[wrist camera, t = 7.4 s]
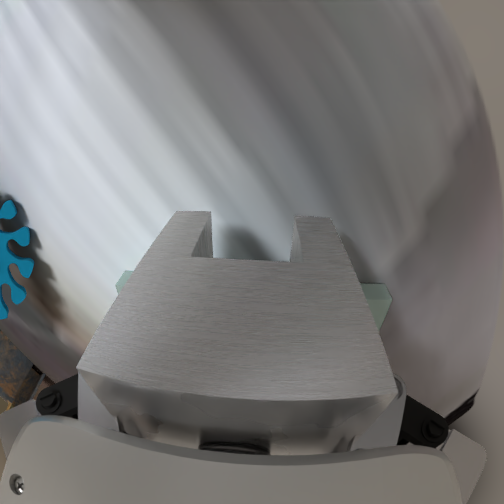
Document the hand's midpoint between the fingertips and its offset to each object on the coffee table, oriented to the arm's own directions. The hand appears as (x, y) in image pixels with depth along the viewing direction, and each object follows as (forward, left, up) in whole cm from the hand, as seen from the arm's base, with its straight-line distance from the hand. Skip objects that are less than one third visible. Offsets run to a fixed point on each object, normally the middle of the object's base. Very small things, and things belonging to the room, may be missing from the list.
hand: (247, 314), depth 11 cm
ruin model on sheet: (+17, -32, -5) cm, 36 cm away
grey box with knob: (0, 0, -2) cm, 2 cm away
